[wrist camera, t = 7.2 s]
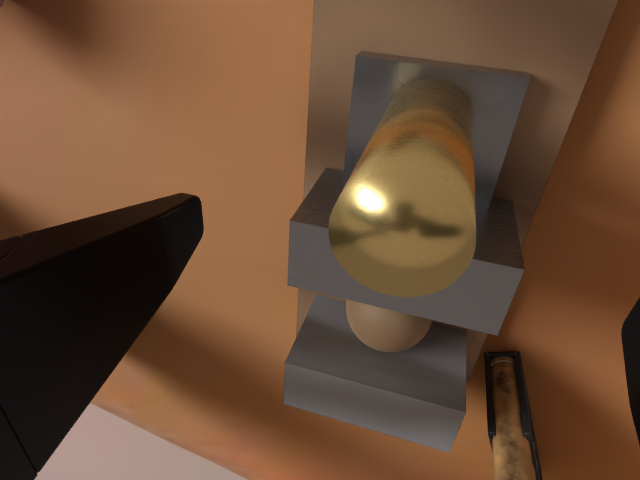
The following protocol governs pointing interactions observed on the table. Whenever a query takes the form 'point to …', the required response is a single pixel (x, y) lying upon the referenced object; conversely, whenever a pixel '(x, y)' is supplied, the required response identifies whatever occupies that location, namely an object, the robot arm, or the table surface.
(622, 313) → the table surface
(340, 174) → the sliding jaw
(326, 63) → the cracker base
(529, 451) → the ammunition clip
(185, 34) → the table surface
